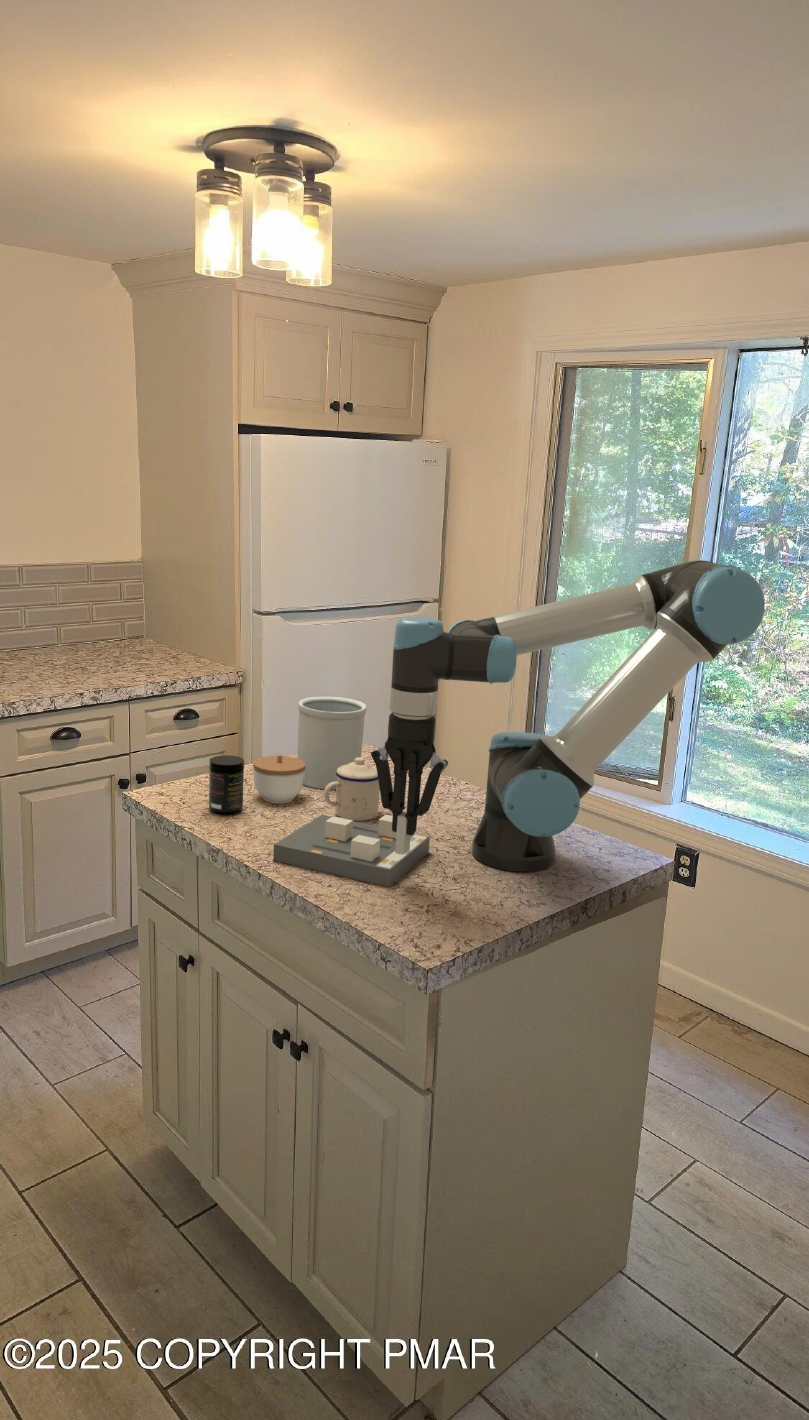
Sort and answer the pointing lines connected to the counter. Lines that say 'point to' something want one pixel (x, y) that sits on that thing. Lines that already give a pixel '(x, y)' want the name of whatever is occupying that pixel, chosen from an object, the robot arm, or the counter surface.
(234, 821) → the counter surface
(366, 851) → the front switch
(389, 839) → the switch panel
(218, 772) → the supplement container
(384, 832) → the back switch
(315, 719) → the utensil holder
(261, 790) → the lidded jar
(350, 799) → the teacup with lid
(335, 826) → the middle switch
